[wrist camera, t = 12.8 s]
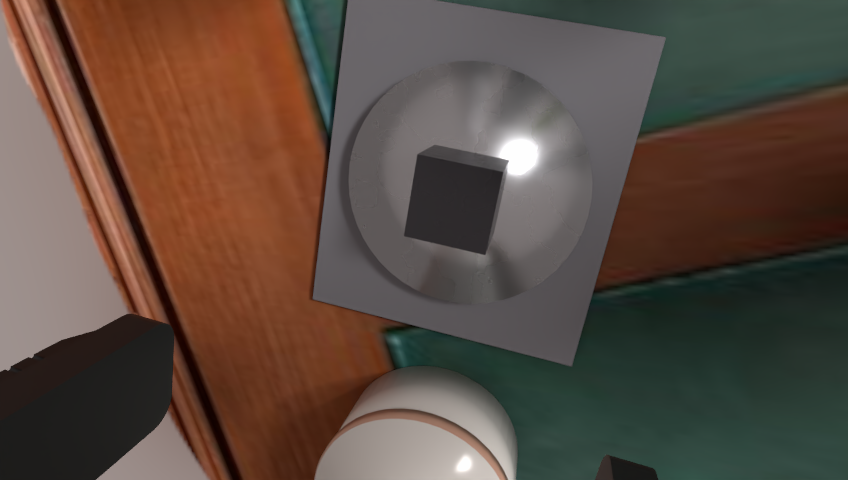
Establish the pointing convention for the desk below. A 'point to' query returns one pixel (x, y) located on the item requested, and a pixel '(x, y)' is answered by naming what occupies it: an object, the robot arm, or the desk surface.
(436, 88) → the lid
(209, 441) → the desk surface
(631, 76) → the mat
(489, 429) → the dish
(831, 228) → the desk surface
